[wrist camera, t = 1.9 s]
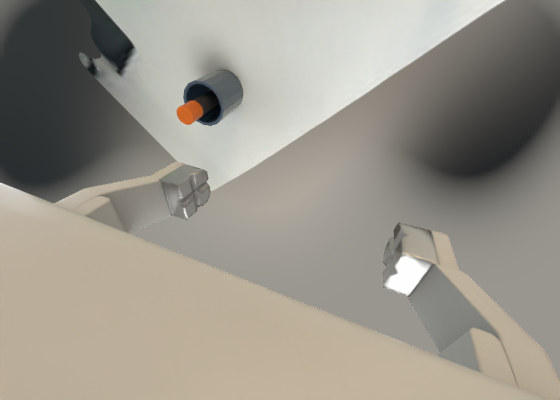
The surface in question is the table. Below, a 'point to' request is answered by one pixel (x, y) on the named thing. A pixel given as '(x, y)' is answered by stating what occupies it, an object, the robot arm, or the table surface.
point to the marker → (197, 107)
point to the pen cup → (225, 90)
